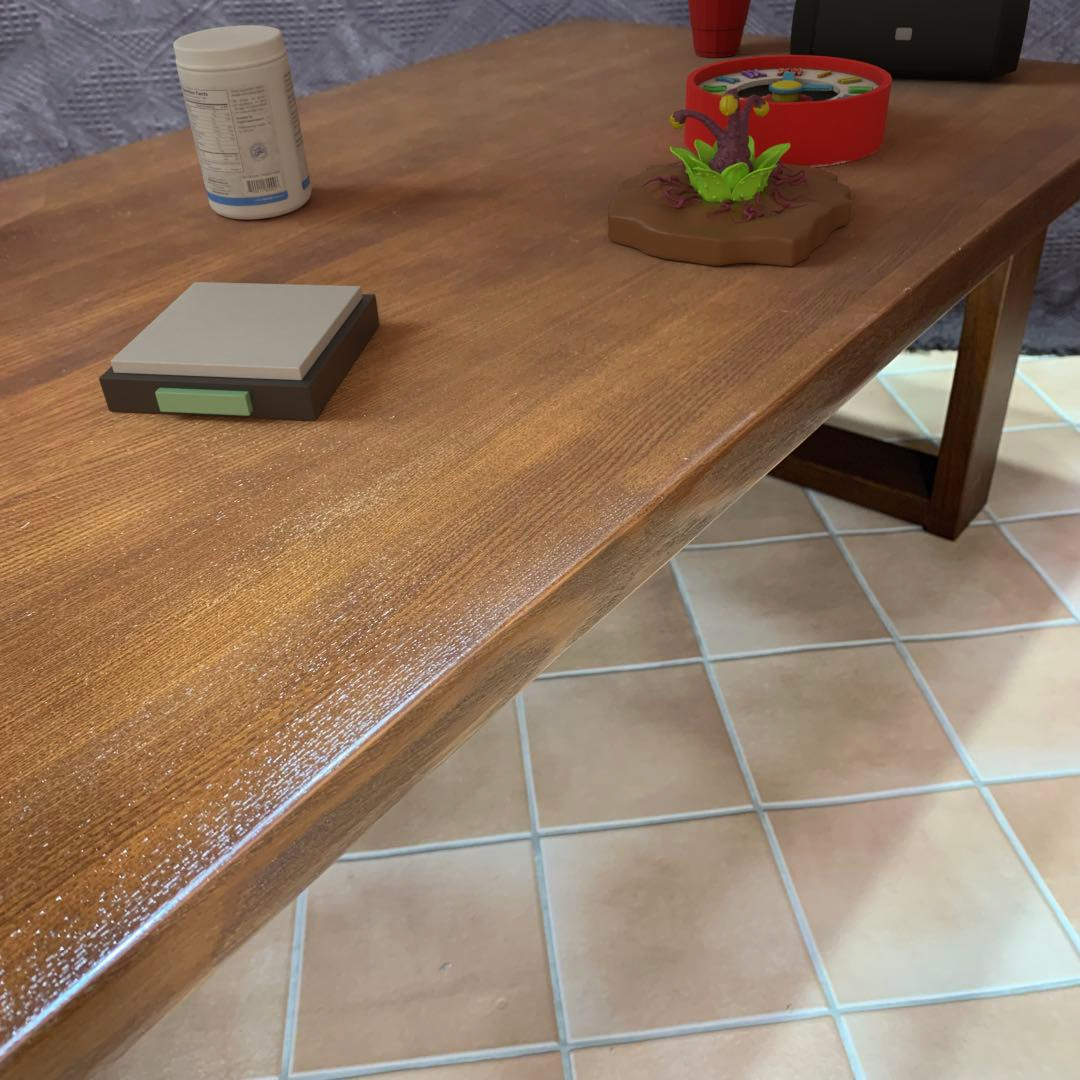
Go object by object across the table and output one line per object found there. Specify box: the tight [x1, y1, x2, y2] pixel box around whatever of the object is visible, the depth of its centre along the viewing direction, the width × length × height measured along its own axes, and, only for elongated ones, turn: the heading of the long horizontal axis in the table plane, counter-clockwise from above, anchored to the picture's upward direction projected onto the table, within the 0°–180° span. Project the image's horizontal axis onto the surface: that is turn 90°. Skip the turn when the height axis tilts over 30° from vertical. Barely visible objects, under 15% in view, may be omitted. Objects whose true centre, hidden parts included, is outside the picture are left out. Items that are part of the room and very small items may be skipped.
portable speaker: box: [789, 0, 1031, 82], centre depth 126 cm, size 26×10×10 cm, turn 70°
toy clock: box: [684, 54, 893, 168], centre depth 109 cm, size 20×6×20 cm
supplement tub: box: [172, 24, 312, 221], centre depth 97 cm, size 10×10×15 cm
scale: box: [98, 281, 381, 421], centre depth 72 cm, size 14×15×3 cm
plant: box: [607, 88, 852, 268], centre depth 88 cm, size 20×20×11 cm
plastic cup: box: [687, 0, 752, 58], centre depth 139 cm, size 11×11×12 cm
